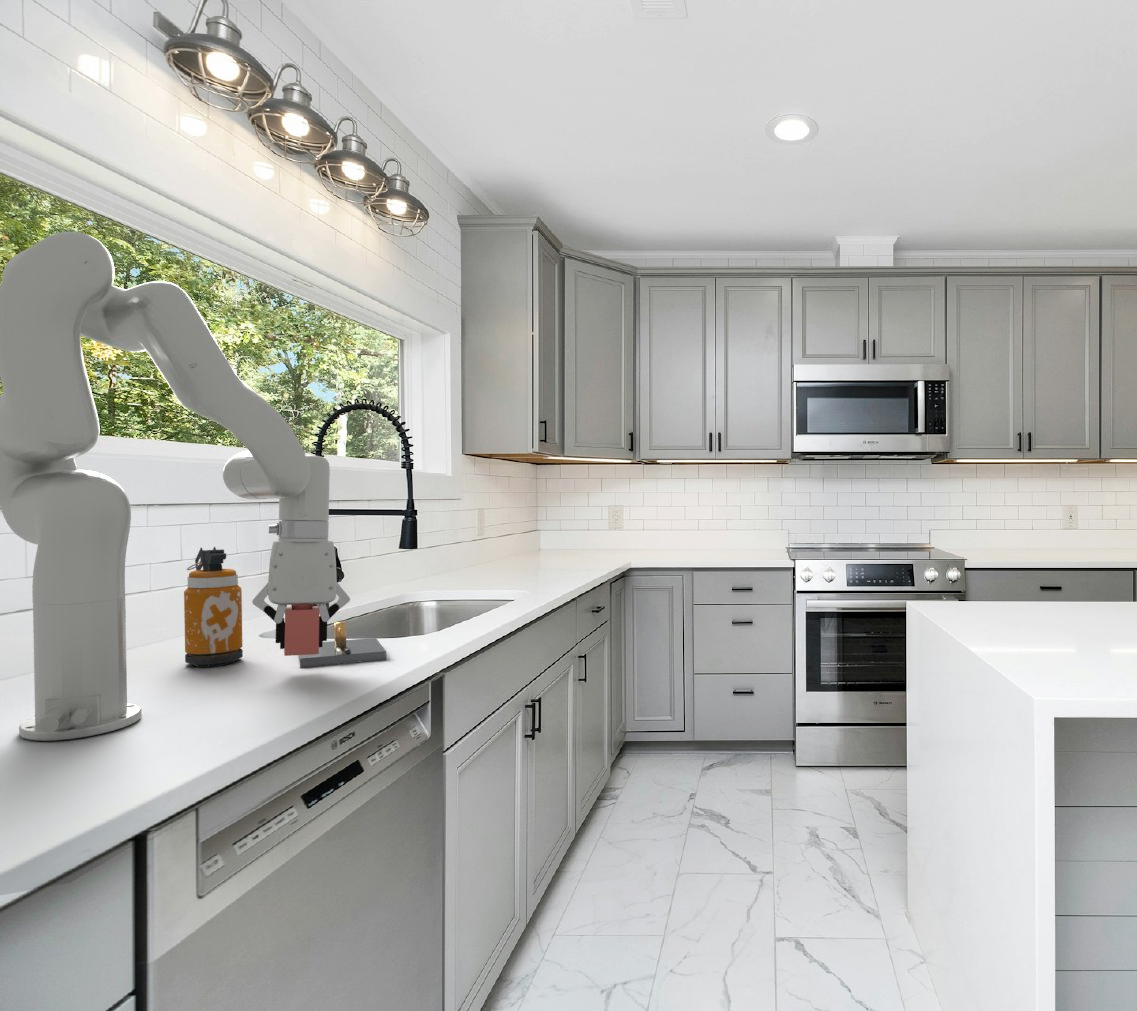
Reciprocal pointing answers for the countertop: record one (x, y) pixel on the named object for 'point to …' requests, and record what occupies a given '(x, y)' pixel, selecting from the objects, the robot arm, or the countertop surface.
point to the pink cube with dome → (301, 630)
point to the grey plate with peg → (344, 650)
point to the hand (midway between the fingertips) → (301, 645)
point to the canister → (212, 612)
